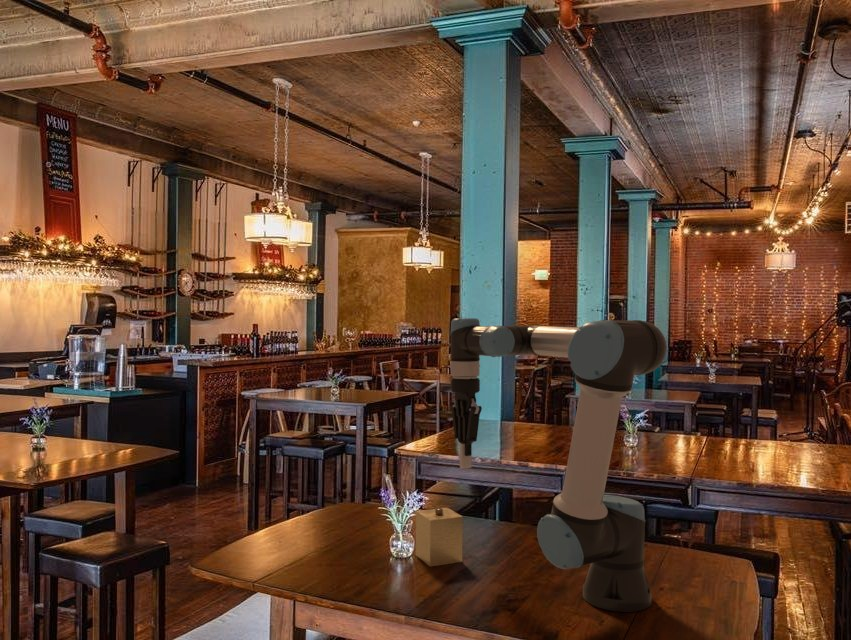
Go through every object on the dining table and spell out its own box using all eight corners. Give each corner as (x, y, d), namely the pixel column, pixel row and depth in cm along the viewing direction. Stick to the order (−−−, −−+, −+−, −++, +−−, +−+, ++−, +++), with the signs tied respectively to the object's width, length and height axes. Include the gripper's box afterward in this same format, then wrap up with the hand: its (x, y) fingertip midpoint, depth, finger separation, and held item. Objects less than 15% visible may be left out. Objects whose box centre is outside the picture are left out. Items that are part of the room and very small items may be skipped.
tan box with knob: (462, 561, 192) (462, 511, 191) (430, 566, 188) (430, 515, 188) (446, 550, 200) (447, 503, 200) (415, 555, 196) (416, 506, 196)
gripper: (490, 378, 188) (490, 471, 189) (465, 375, 200) (466, 462, 200) (464, 379, 185) (465, 473, 185) (441, 376, 197) (441, 464, 197)
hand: (465, 467), depth 193 cm, fingers closed
